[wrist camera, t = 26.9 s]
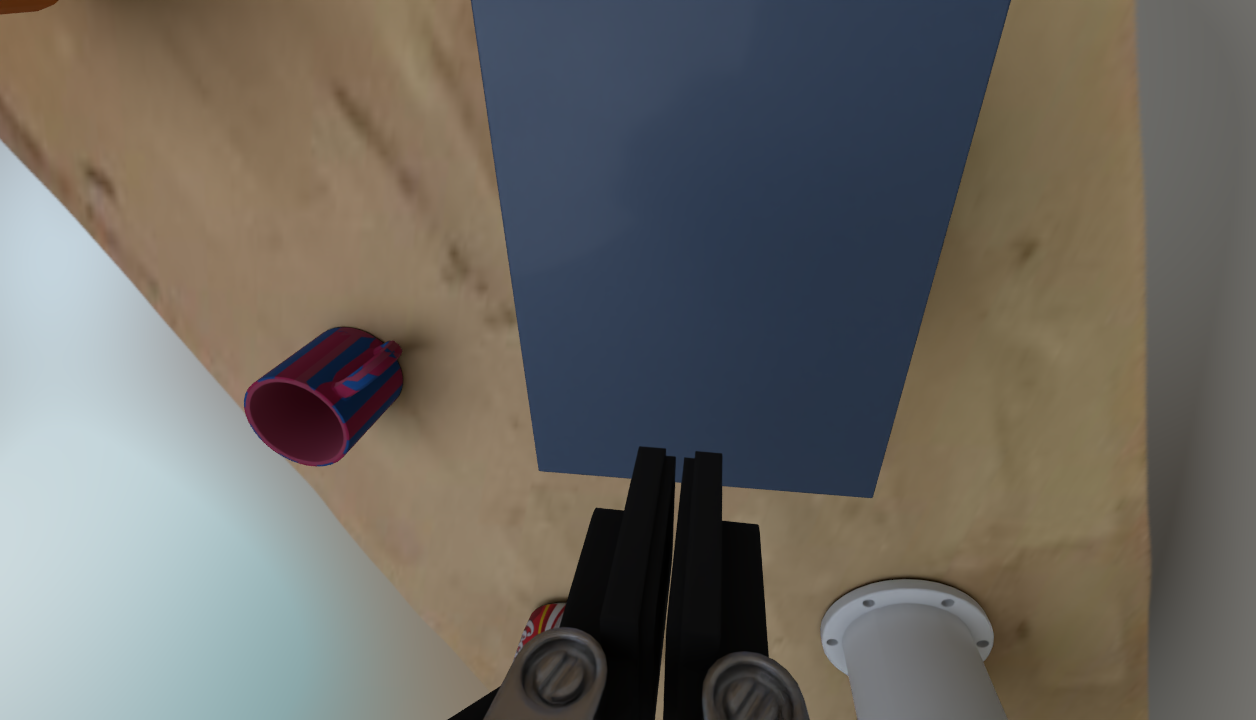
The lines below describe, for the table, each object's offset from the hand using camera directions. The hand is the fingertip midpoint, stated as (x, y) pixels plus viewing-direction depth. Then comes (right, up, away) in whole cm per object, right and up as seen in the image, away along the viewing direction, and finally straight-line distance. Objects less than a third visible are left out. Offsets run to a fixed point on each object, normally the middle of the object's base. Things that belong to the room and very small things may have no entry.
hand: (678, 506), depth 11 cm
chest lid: (+2, +6, +7) cm, 10 cm away
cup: (-19, +3, +28) cm, 34 cm away
